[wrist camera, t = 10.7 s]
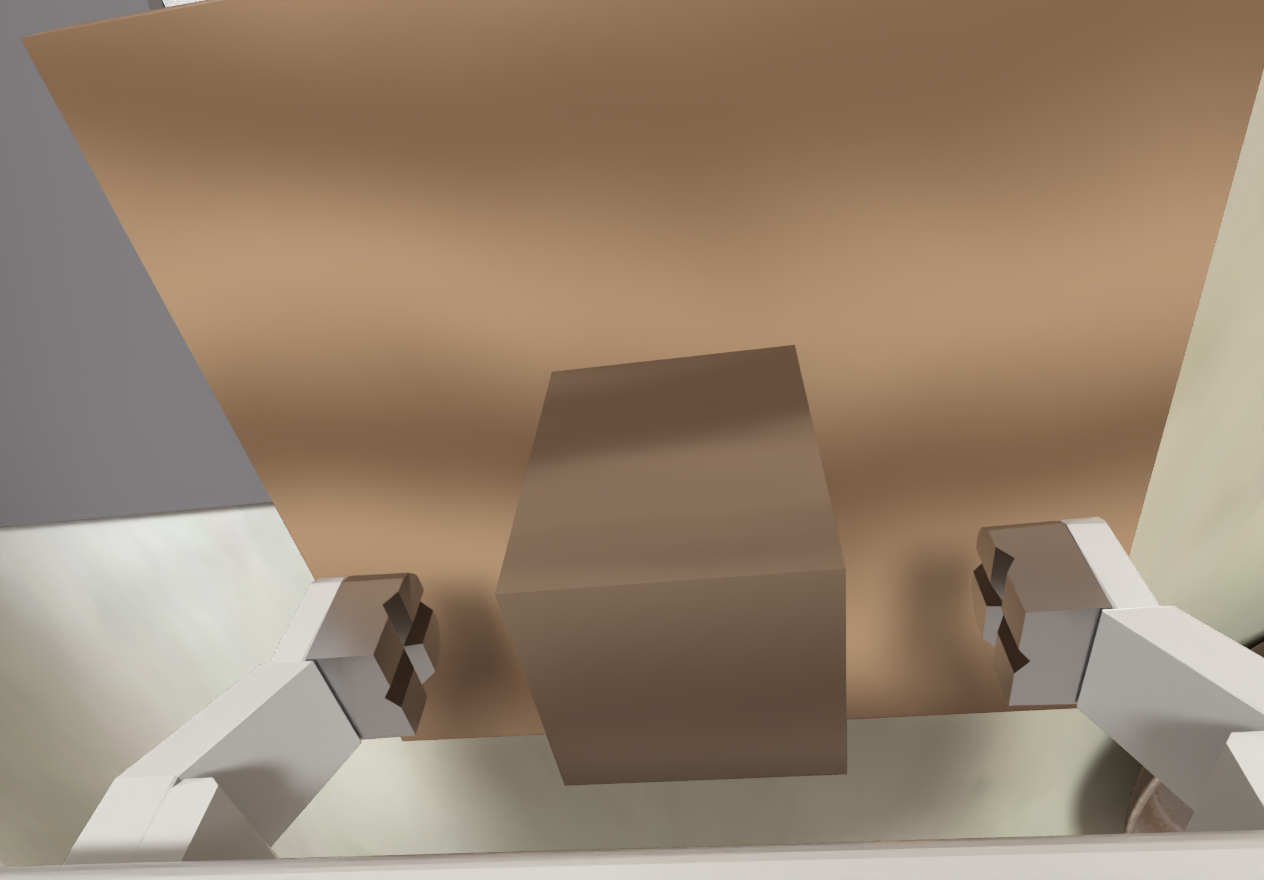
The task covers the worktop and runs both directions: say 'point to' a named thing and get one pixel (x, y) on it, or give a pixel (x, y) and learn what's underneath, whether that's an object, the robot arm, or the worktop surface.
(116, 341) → the rubber mat
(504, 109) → the walnut cover
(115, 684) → the worktop surface
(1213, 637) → the robot arm
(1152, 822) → the plant saucer
